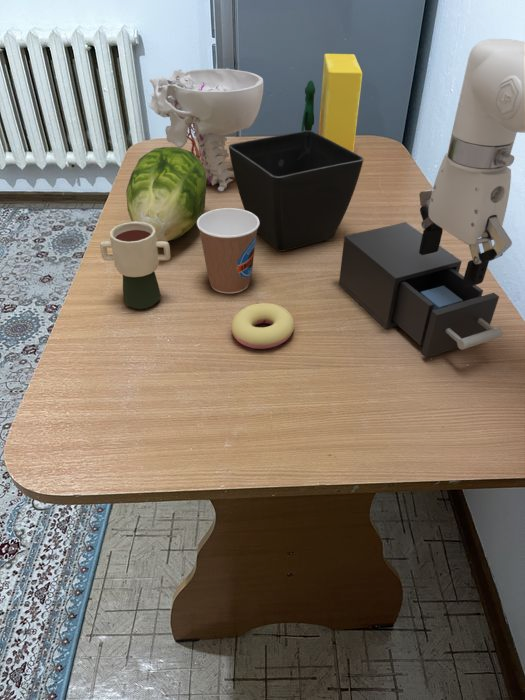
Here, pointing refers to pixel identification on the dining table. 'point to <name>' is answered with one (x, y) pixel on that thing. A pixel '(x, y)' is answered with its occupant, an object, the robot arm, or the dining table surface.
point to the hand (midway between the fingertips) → (449, 267)
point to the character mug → (136, 261)
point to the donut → (266, 335)
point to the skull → (208, 112)
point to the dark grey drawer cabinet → (386, 266)
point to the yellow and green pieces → (336, 100)
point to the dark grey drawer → (445, 313)
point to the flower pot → (295, 186)
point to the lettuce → (167, 191)
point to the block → (441, 297)
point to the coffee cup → (228, 247)
